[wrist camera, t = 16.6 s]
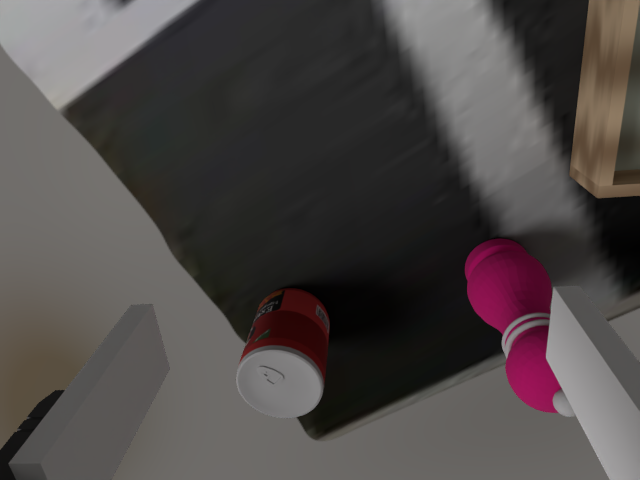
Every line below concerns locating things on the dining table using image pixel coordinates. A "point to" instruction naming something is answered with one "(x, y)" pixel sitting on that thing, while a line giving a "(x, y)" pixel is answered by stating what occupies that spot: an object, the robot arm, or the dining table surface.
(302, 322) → the canned food
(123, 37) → the dining table surface
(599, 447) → the robot arm
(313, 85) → the dining table surface
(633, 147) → the bore box
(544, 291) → the pepper mill
